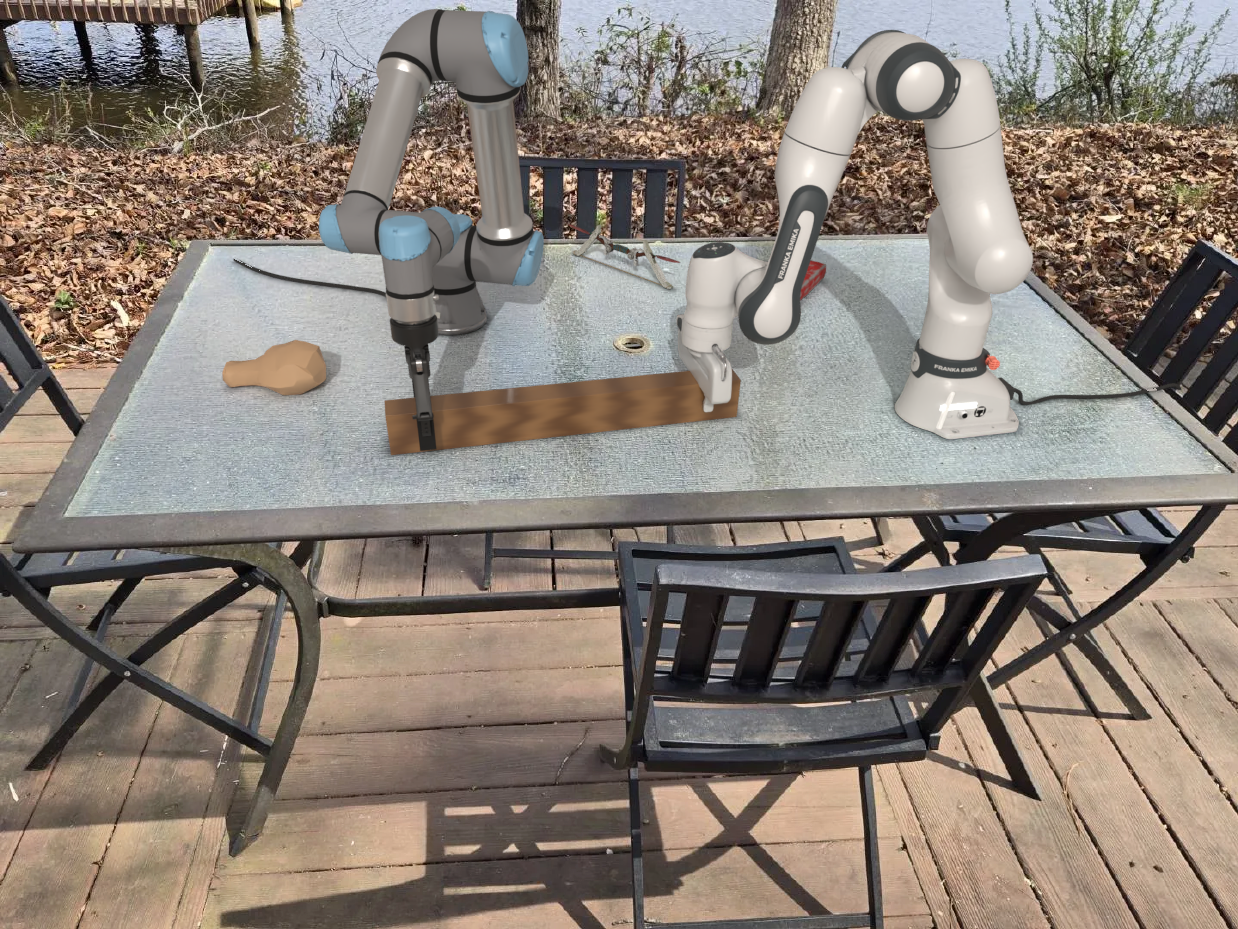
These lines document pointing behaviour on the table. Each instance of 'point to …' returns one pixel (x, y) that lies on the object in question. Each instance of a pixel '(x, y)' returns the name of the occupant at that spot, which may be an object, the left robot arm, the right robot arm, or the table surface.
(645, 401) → the post
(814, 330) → the table surface
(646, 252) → the bow
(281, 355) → the squash
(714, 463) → the table surface
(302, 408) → the table surface
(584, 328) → the table surface
